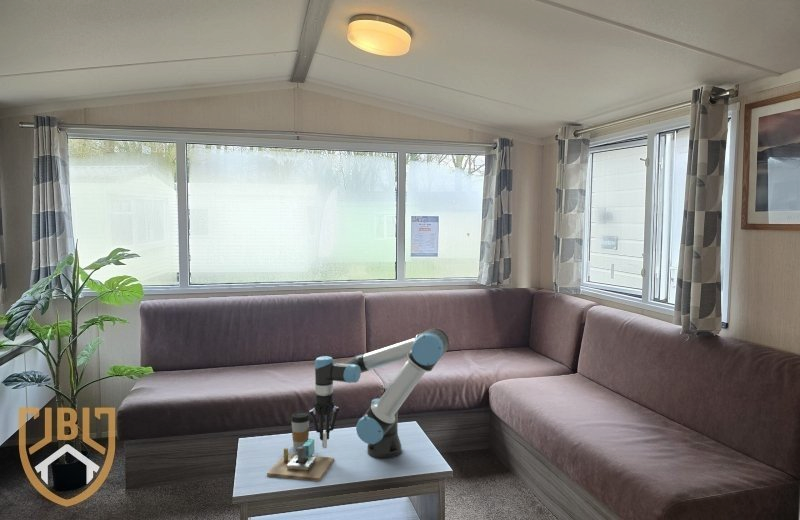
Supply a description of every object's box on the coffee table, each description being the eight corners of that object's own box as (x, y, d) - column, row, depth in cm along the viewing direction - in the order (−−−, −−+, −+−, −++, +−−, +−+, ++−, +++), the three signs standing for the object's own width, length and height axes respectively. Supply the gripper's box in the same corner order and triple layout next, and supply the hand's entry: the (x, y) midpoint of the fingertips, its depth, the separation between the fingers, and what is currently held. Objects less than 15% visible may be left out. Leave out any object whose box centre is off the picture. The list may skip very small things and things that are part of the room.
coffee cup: (305, 451, 223) (305, 418, 223) (288, 450, 225) (287, 417, 224) (312, 444, 232) (312, 411, 231) (295, 442, 233) (295, 410, 232)
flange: (321, 453, 219) (321, 439, 218) (308, 470, 203) (308, 455, 203) (301, 451, 220) (301, 438, 220) (286, 468, 205) (286, 454, 204)
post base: (334, 460, 215) (334, 440, 215) (319, 481, 197) (319, 459, 197) (285, 456, 219) (285, 437, 219) (267, 476, 201) (266, 455, 201)
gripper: (337, 388, 222) (337, 441, 224) (307, 392, 218) (307, 445, 220) (341, 394, 215) (341, 448, 217) (310, 397, 211) (310, 452, 212)
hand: (324, 446), depth 218 cm, fingers closed
